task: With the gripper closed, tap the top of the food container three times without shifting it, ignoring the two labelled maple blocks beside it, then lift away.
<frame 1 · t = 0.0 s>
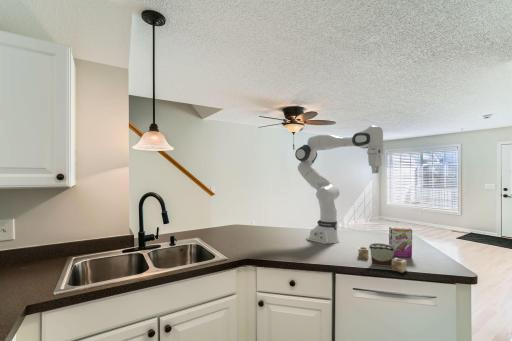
hand: (375, 173, 158), 48 cm above the countertop, tool pointing down, fingers open, 8 cm apart
candy bar box: (400, 256, 145), on the countertop
food container: (380, 263, 134), on the countertop
labelled block a: (363, 257, 144), on the countertop
labelled block b: (399, 269, 126), on the countertop
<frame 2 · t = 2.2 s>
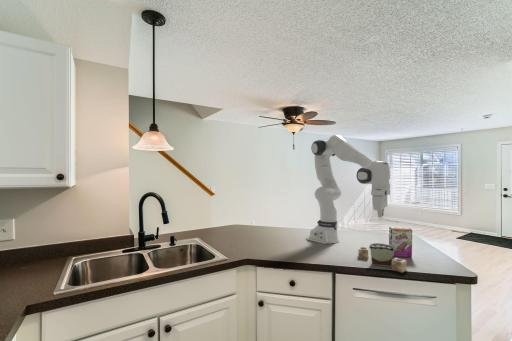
hand: (380, 216, 134), 25 cm above the countertop, tool pointing down, fingers open, 3 cm apart
nothing on the countertop moved.
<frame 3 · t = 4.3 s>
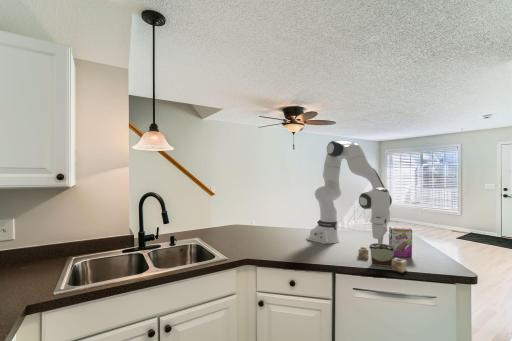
hand: (380, 243, 134), 11 cm above the countertop, tool pointing down, fingers closed
nothing on the countertop moved.
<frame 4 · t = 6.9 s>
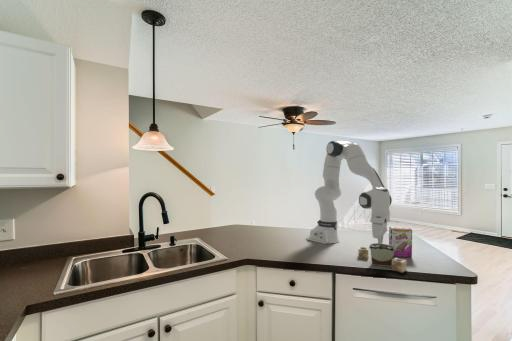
hand: (380, 243, 134), 11 cm above the countertop, tool pointing down, fingers closed
nothing on the countertop moved.
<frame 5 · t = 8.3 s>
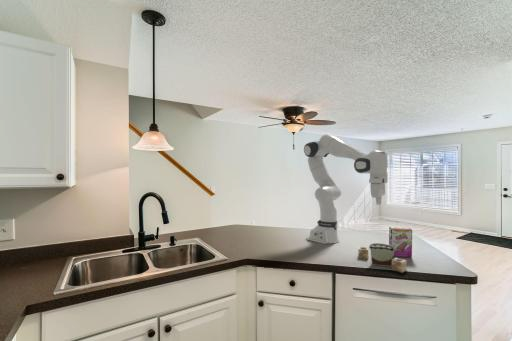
hand: (378, 204, 139), 31 cm above the countertop, tool pointing down, fingers closed
nothing on the countertop moved.
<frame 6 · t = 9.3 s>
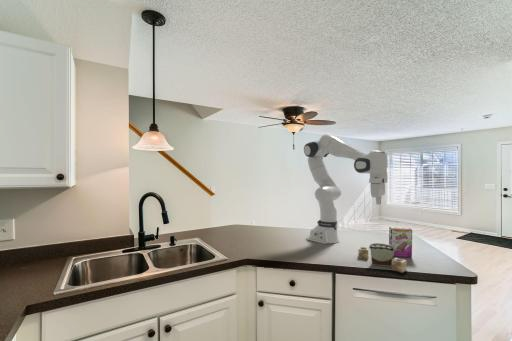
hand: (378, 204, 139), 31 cm above the countertop, tool pointing down, fingers closed
nothing on the countertop moved.
at the end: food container moved 0.2 cm from its start; food container tilted 0°; food container touching countertop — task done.
